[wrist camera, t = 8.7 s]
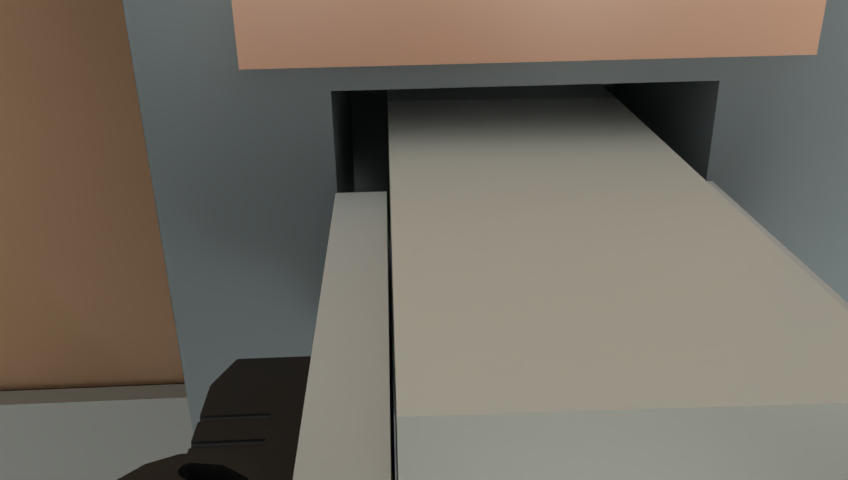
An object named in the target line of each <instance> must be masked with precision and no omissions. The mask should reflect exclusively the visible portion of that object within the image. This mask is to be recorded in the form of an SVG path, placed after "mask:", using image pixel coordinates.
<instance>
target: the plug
mask: <svg viewBox="0 0 848 480" xmlns="http://www.w3.org/2000/svg"><path fill="white" fill-rule="evenodd" d="M387 103H388V150H389V196H390V242H391V282H392V321H393V360H394V399H395V438H396V478H397V480H848V311H847V310H846V309H845V308H844V307H843V306H842V305H841V304H839V303H838V302H837V301H836V300H835V299H834V298H833V297H832V296H831V295H830V294H829V293H828V292H826V291H825V290H824V289H823V288H822V287H821V286H820V285H819V284H818V283H817V282H816V281H815V280H813V279H812V278H811V277H810V276H809V275H808V274H807V273H806V272H805V271H804V270H803V269H801V268H800V267H799V266H798V265H797V264H796V263H795V262H794V261H793V260H792V259H791V258H790V257H788V256H787V255H786V254H785V253H784V252H783V251H782V250H781V249H780V248H779V247H778V246H776V245H775V244H774V243H773V242H772V241H771V240H770V239H769V238H768V237H767V236H766V235H765V234H763V233H762V232H761V231H760V230H759V229H758V228H757V227H756V226H755V225H754V224H753V223H751V222H750V221H749V220H748V219H747V218H746V217H745V216H744V215H743V214H742V213H741V212H740V211H738V210H737V209H736V208H735V207H734V206H733V205H732V204H731V203H730V202H729V201H728V200H727V199H725V198H724V197H723V196H722V195H721V194H720V193H719V192H718V191H717V190H716V189H715V188H713V187H712V186H711V185H710V184H709V183H708V182H707V181H706V180H705V179H704V178H703V177H702V176H700V175H699V174H698V173H697V172H696V171H695V170H694V169H693V168H692V167H691V166H690V165H688V164H687V163H686V162H685V161H684V160H683V159H682V158H681V157H680V156H679V155H678V154H677V153H675V152H674V151H673V150H672V149H671V148H670V147H669V146H668V145H667V144H666V143H665V142H664V141H662V140H661V139H660V138H659V137H658V136H657V135H656V134H655V133H654V132H653V131H652V130H650V129H649V128H648V127H647V126H646V125H645V124H644V123H643V122H642V121H641V120H640V119H639V118H637V117H636V116H635V115H634V114H633V113H632V112H631V111H630V110H629V109H628V108H627V107H625V106H624V105H623V104H622V103H621V102H620V101H619V100H618V99H617V98H616V97H615V96H614V95H612V94H611V93H610V92H609V91H608V90H607V89H606V88H605V87H604V86H603V85H602V84H575V85H538V86H501V87H464V88H427V89H390V90H387Z"/></svg>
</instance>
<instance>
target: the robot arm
mask: <svg viewBox="0 0 848 480" xmlns="http://www.w3.org/2000/svg"><path fill="white" fill-rule="evenodd" d="M707 182H708V183H709V184H710V185H711V186H712V187H713V188H715V189H716V190H717V191H718V192H719V193H720V194H721V195H722V196H723V197H724V198H725V199H727V200H728V201H729V202H730V203H731V204H732V205H733V206H734V207H735V208H736V209H737V210H738V211H740V212H741V213H742V214H743V215H744V216H745V217H746V218H747V219H748V220H749V221H750V222H751V223H753V224H754V225H755V226H756V227H757V228H758V229H759V230H760V231H761V232H762V233H763V234H765V235H766V236H767V237H768V238H769V239H770V240H771V241H772V242H773V243H774V244H775V245H776V246H778V247H779V248H780V249H781V250H782V251H783V252H784V253H785V254H786V255H787V256H788V257H790V258H791V259H792V260H793V261H794V262H795V263H796V264H797V265H798V266H799V267H800V268H801V269H803V270H804V271H805V272H806V273H807V274H808V275H809V276H810V277H811V278H812V279H813V280H815V281H816V282H817V283H818V284H819V285H820V286H821V287H822V288H823V289H824V290H825V291H826V292H828V293H829V294H830V295H831V296H832V297H833V298H834V299H835V300H836V301H837V302H838V303H839V304H841V305H842V306H843V307H844V308H845V309H846V310H847V311H848V303H847V302H846V301H845V300H844V299H843V298H842V297H841V296H839V295H838V294H837V293H836V292H835V291H834V290H833V289H832V288H831V287H829V286H828V285H827V284H826V283H825V282H824V281H823V280H822V279H821V278H819V277H818V276H817V275H816V274H815V273H814V272H813V271H812V270H811V269H809V268H808V267H807V266H806V265H805V264H804V263H803V262H802V261H801V260H799V259H798V258H797V257H796V256H795V255H794V254H793V253H792V252H791V251H789V250H788V249H787V248H786V247H785V246H784V245H783V244H782V243H781V242H779V241H778V240H777V239H776V238H775V237H774V236H773V235H772V234H771V233H769V232H768V231H767V230H766V229H765V228H764V227H763V226H762V225H761V224H759V223H758V222H757V221H756V220H755V219H754V218H753V217H752V216H751V215H749V214H748V213H747V212H746V211H745V210H744V209H743V208H742V207H741V206H739V205H738V204H737V203H736V202H735V201H734V200H733V199H732V198H731V197H729V196H728V195H727V194H726V193H725V192H724V191H723V190H722V189H721V188H719V187H718V186H717V185H716V184H715V183H714V182H713V181H707ZM117 480H395V444H394V399H393V354H392V325H391V298H390V271H389V244H388V217H387V191H384V192H353V193H335V200H334V206H333V213H332V220H331V227H330V233H329V240H328V247H327V253H326V260H325V267H324V273H323V280H322V287H321V293H320V300H319V307H318V313H317V320H316V327H315V333H314V340H313V347H312V354H311V356H299V357H273V358H248V359H237V360H236V361H235V362H233V363H232V364H231V365H230V366H229V367H228V368H227V369H226V370H225V371H224V372H223V373H222V374H221V375H220V376H219V377H218V378H217V379H216V380H215V381H214V382H213V383H212V384H211V385H210V388H209V391H208V393H207V396H206V399H205V402H204V405H203V408H202V411H201V414H200V422H198V423H197V426H196V429H195V432H194V435H193V437H192V440H191V448H189V449H188V452H187V453H186V454H178V455H174V456H171V457H167V458H164V459H161V460H157V461H154V462H150V463H147V464H144V465H142V466H140V467H139V468H137V469H135V470H133V471H132V472H130V473H128V474H126V475H124V476H123V477H121V478H119V479H117Z"/></svg>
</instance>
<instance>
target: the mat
mask: <svg viewBox="0 0 848 480" xmlns="http://www.w3.org/2000/svg"><path fill="white" fill-rule="evenodd" d="M192 437H193V430H192V424H191V418H190V412H189V406H188V399H187V393H186V387H185V384H169V385H144V386H119V387H95V388H70V389H45V390H20V391H0V480H117V479H119V478H121V477H123V476H124V475H126V474H128V473H130V472H132V471H133V470H135V469H137V468H139V467H140V466H142V465H144V464H147V463H150V462H154V461H157V460H161V459H164V458H167V457H171V456H174V455H178V454H186V453H187V452H188V449H189V448H191V440H192Z"/></svg>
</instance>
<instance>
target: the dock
mask: <svg viewBox="0 0 848 480" xmlns="http://www.w3.org/2000/svg"><path fill="white" fill-rule="evenodd" d="M122 2H123V8H124V14H125V20H126V27H127V33H128V39H129V45H130V51H131V57H132V63H133V69H134V75H135V82H136V88H137V94H138V100H139V106H140V112H141V118H142V124H143V130H144V137H145V143H146V149H147V155H148V161H149V167H150V173H151V179H152V185H153V192H154V198H155V204H156V210H157V216H158V222H159V228H160V234H161V241H162V247H163V253H164V259H165V265H166V271H167V277H168V283H169V289H170V296H171V302H172V308H173V314H174V320H175V326H176V332H177V338H178V344H179V351H180V357H181V363H182V369H183V375H184V381H185V387H186V393H187V399H188V406H189V412H190V418H191V424H192V430H193V435H194V432H195V429H196V426H197V423H198V422H200V414H201V411H202V408H203V405H204V402H205V399H206V396H207V393H208V391H209V388H210V385H211V384H212V383H213V382H214V381H215V380H216V379H217V378H218V377H219V376H220V375H221V374H222V373H223V372H224V371H225V370H226V369H227V368H228V367H229V366H230V365H231V364H232V363H233V362H235V361H236V360H237V359H248V358H273V357H299V356H311V354H312V347H313V340H314V333H315V327H316V320H317V313H318V307H319V300H320V293H321V287H322V280H323V273H324V267H325V260H326V253H327V247H328V240H329V233H330V227H331V220H332V213H333V206H334V200H335V193H353V192H384V191H387V217H388V244H389V271H390V298H391V325H392V354H393V321H392V282H391V242H390V196H389V150H388V103H387V90H390V89H427V88H464V87H501V86H538V85H575V84H602V85H603V86H604V87H605V88H606V89H607V90H608V91H609V92H610V93H611V94H612V95H614V96H615V97H616V98H617V99H618V100H619V101H620V102H621V103H622V104H623V105H624V106H625V107H627V108H628V109H629V110H630V111H631V112H632V113H633V114H634V115H635V116H636V117H637V118H639V119H640V120H641V121H642V122H643V123H644V124H645V125H646V126H647V127H648V128H649V129H650V130H652V131H653V132H654V133H655V134H656V135H657V136H658V137H659V138H660V139H661V140H662V141H664V142H665V143H666V144H667V145H668V146H669V147H670V148H671V149H672V150H673V151H674V152H675V153H677V154H678V155H679V156H680V157H681V158H682V159H683V160H684V161H685V162H686V163H687V164H688V165H690V166H691V167H692V168H693V169H694V170H695V171H696V172H697V173H698V174H699V175H700V176H702V177H703V178H704V179H705V180H706V181H713V182H714V183H715V184H716V185H717V186H718V187H719V188H721V189H722V190H723V191H724V192H725V193H726V194H727V195H728V196H729V197H731V198H732V199H733V200H734V201H735V202H736V203H737V204H738V205H739V206H741V207H742V208H743V209H744V210H745V211H746V212H747V213H748V214H749V215H751V216H752V217H753V218H754V219H755V220H756V221H757V222H758V223H759V224H761V225H762V226H763V227H764V228H765V229H766V230H767V231H768V232H769V233H771V234H772V235H773V236H774V237H775V238H776V239H777V240H778V241H779V242H781V243H782V244H783V245H784V246H785V247H786V248H787V249H788V250H789V251H791V252H792V253H793V254H794V255H795V256H796V257H797V258H798V259H799V260H801V261H802V262H803V263H804V264H805V265H806V266H807V267H808V268H809V269H811V270H812V271H813V272H814V273H815V274H816V275H817V276H818V277H819V278H821V279H822V280H823V281H824V282H825V283H826V284H827V285H828V286H829V287H831V288H832V289H833V290H834V291H835V292H836V293H837V294H838V295H839V296H841V297H842V298H843V299H844V300H845V301H846V302H847V303H848V0H122ZM393 399H394V360H393ZM394 444H395V480H397V478H396V438H395V399H394Z"/></svg>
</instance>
